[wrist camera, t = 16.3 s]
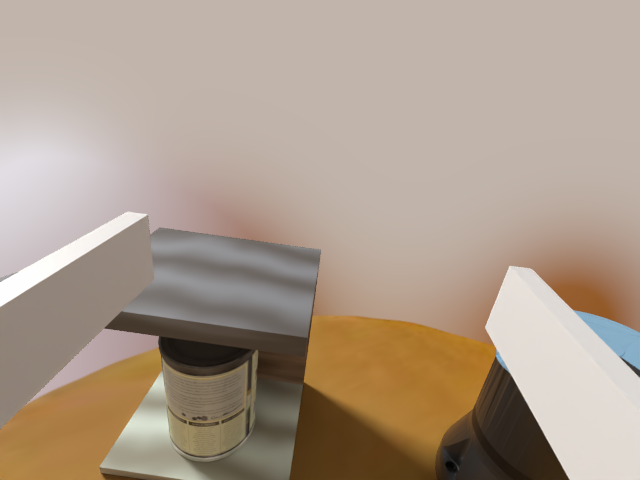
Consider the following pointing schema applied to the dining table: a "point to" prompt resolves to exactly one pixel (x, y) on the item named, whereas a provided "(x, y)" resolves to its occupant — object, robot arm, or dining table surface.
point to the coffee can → (208, 397)
